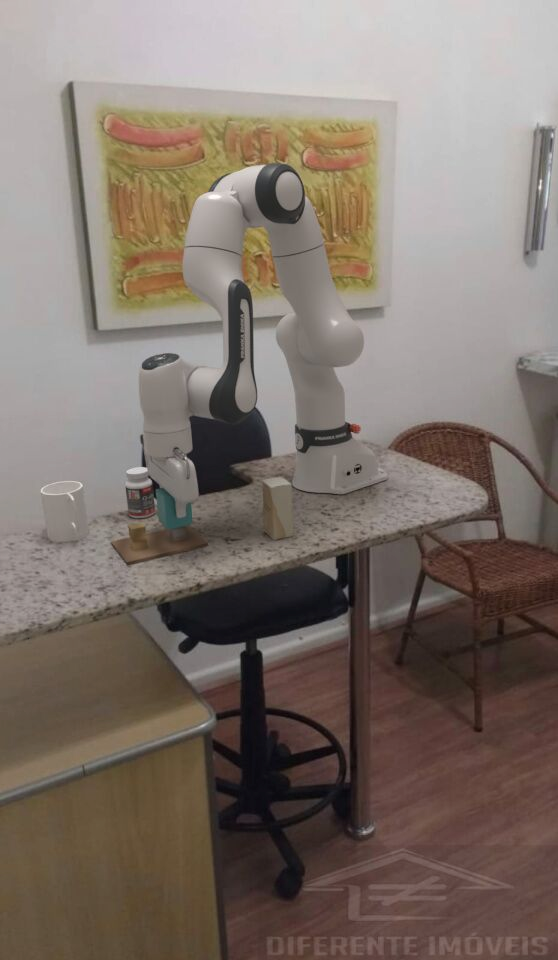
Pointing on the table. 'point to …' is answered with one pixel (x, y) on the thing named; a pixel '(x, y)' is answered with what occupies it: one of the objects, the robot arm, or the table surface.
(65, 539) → the cup
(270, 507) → the box
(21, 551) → the table surface
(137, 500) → the pill bottle
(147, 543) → the stand
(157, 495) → the teal rectangular block
